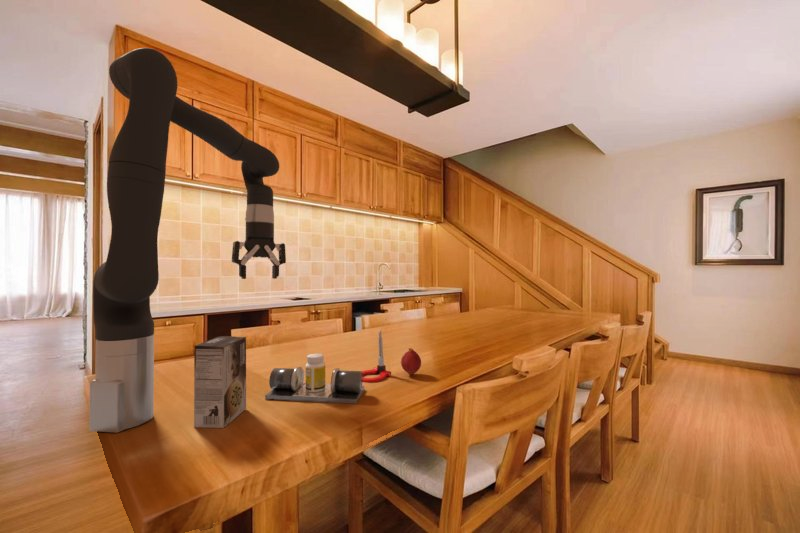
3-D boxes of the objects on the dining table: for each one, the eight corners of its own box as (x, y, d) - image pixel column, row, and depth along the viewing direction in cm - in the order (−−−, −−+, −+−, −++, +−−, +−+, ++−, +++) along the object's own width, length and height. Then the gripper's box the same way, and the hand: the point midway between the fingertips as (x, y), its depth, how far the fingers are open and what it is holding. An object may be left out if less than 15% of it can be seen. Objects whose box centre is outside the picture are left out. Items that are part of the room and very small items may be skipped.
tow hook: (370, 386, 91) (393, 376, 98) (368, 338, 91) (392, 332, 98) (350, 379, 97) (373, 370, 104) (348, 334, 97) (372, 328, 104)
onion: (408, 370, 103) (408, 344, 104) (424, 374, 100) (424, 347, 100) (397, 375, 99) (397, 348, 99) (413, 379, 95) (414, 351, 95)
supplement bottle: (327, 386, 86) (327, 353, 86) (322, 393, 81) (322, 358, 82) (309, 385, 87) (309, 352, 87) (302, 392, 82) (302, 357, 82)
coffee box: (218, 408, 75) (218, 335, 75) (247, 409, 75) (247, 336, 75) (192, 428, 66) (192, 345, 66) (224, 428, 66) (225, 345, 66)
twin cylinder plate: (364, 389, 87) (364, 364, 87) (355, 403, 78) (356, 375, 78) (282, 386, 90) (282, 361, 90) (265, 399, 81) (265, 371, 81)
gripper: (236, 218, 90) (236, 279, 90) (289, 223, 99) (289, 278, 99) (229, 221, 96) (229, 278, 96) (280, 225, 105) (279, 278, 105)
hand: (259, 278), depth 97 cm, fingers open, 8 cm apart
